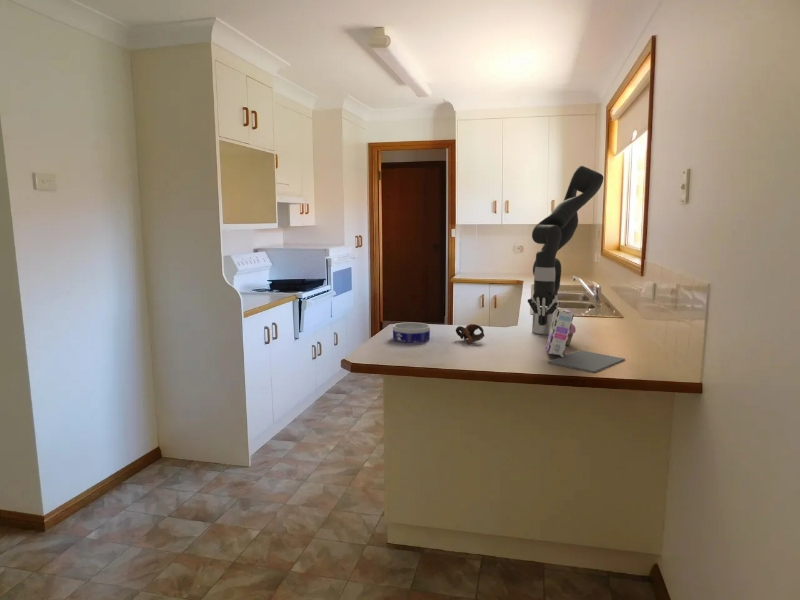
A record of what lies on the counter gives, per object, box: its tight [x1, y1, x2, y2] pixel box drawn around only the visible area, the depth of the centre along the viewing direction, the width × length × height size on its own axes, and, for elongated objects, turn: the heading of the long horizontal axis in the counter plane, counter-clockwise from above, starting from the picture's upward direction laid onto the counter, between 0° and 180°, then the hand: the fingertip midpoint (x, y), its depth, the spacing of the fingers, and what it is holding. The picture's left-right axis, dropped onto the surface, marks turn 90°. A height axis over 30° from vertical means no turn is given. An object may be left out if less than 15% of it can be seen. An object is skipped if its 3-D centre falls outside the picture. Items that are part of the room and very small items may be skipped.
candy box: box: [545, 306, 575, 357], centre depth 203 cm, size 14×6×16 cm, turn 168°
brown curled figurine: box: [455, 323, 485, 345], centre depth 224 cm, size 12×10×8 cm
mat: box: [547, 349, 626, 374], centre depth 195 cm, size 17×24×1 cm
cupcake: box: [566, 323, 577, 346], centre depth 220 cm, size 9×9×10 cm
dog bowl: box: [392, 321, 431, 344], centre depth 227 cm, size 15×15×6 cm
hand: (542, 325), depth 206 cm, fingers closed
